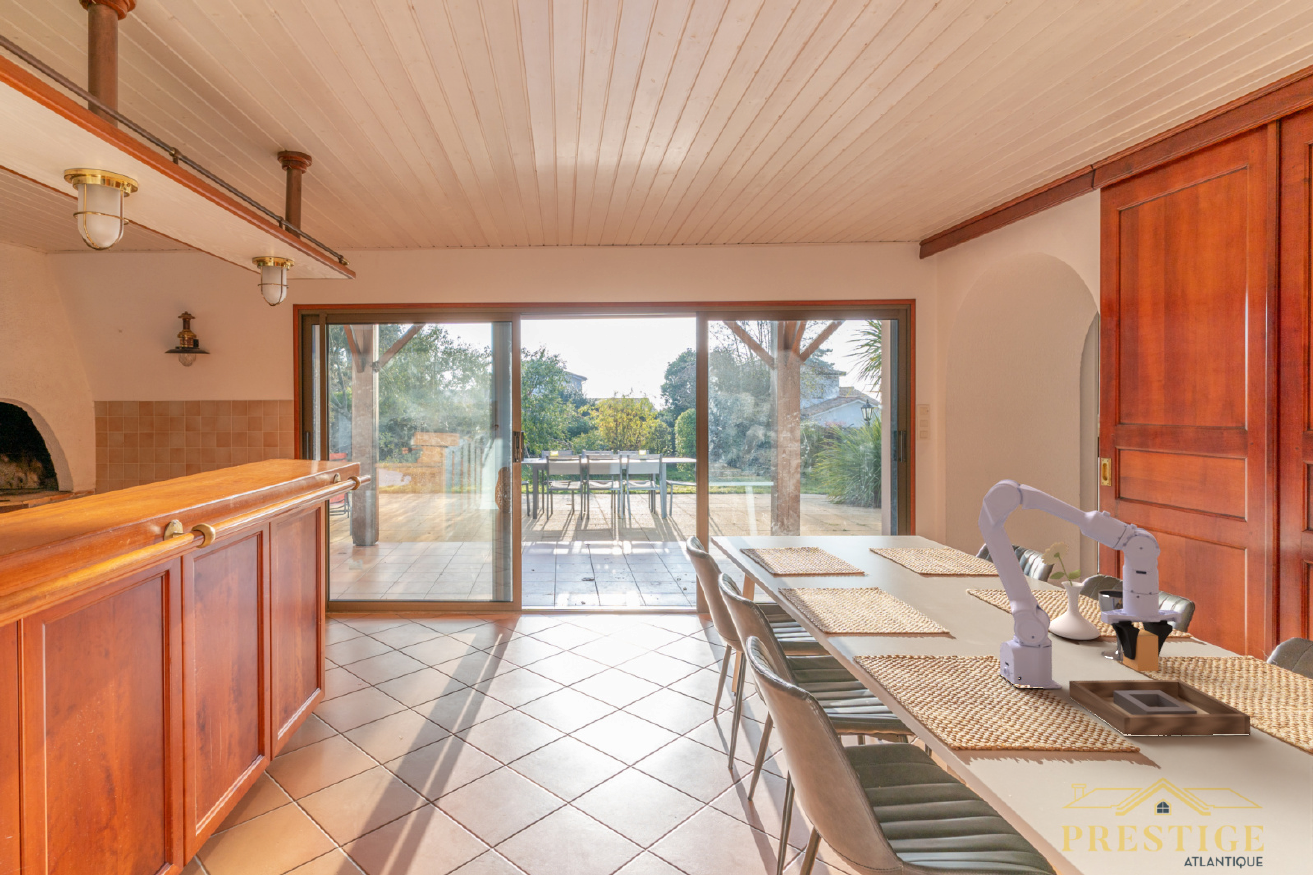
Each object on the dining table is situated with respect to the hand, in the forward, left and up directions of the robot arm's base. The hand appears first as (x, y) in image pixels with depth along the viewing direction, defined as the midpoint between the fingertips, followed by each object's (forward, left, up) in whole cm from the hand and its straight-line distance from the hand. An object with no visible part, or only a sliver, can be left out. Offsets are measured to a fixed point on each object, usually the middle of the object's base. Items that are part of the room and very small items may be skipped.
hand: (1141, 657), depth 127 cm
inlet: (-2, -6, -9) cm, 11 cm away
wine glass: (+12, +24, -9) cm, 29 cm away
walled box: (-2, -6, -9) cm, 11 cm away
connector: (0, 0, -2) cm, 2 cm away
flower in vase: (+9, +38, -9) cm, 40 cm away
